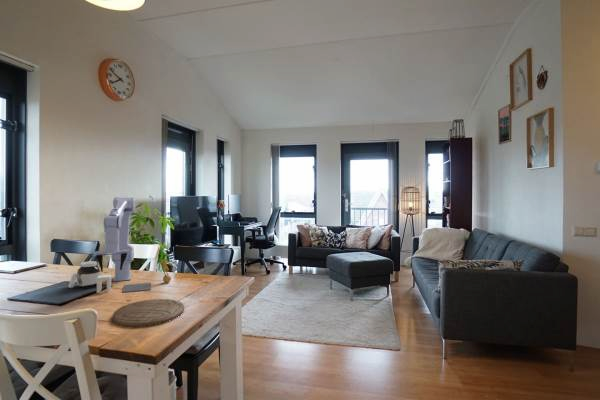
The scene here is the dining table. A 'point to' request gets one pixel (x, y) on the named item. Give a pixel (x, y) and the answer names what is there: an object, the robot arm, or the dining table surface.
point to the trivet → (148, 312)
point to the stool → (99, 282)
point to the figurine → (166, 277)
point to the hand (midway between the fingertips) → (111, 270)
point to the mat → (136, 287)
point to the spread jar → (86, 275)
